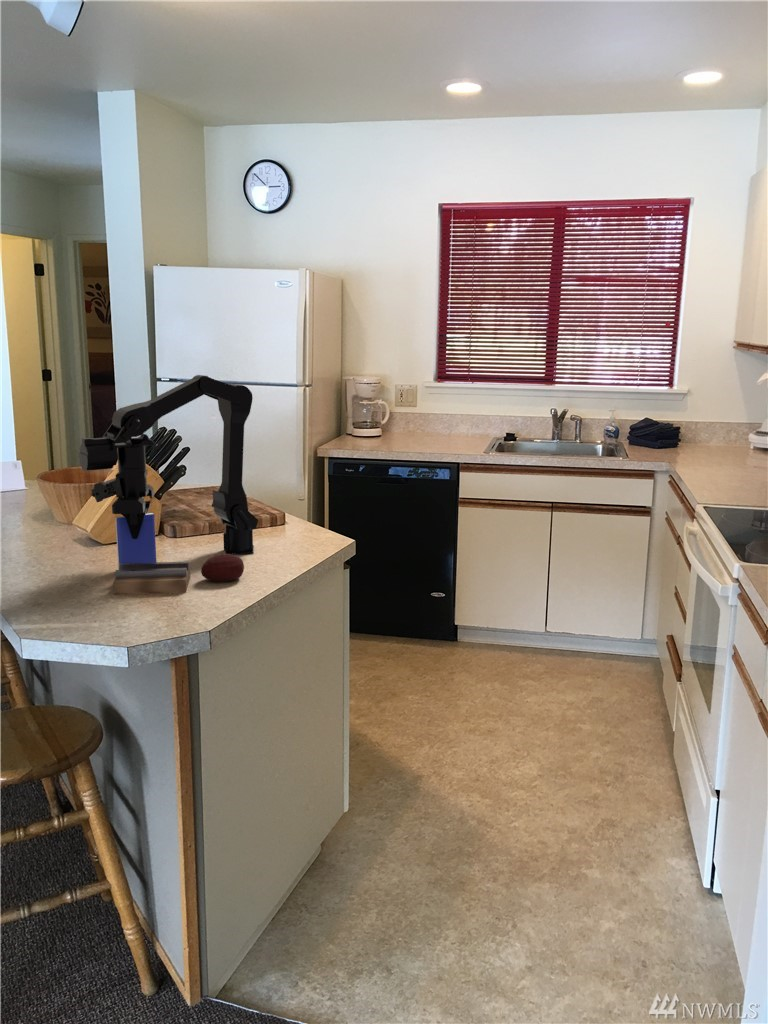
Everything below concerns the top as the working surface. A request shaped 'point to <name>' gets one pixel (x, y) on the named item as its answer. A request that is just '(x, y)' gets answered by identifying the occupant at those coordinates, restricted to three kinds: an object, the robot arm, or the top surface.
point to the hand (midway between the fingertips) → (136, 537)
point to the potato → (222, 568)
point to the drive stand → (152, 578)
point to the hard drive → (136, 541)
